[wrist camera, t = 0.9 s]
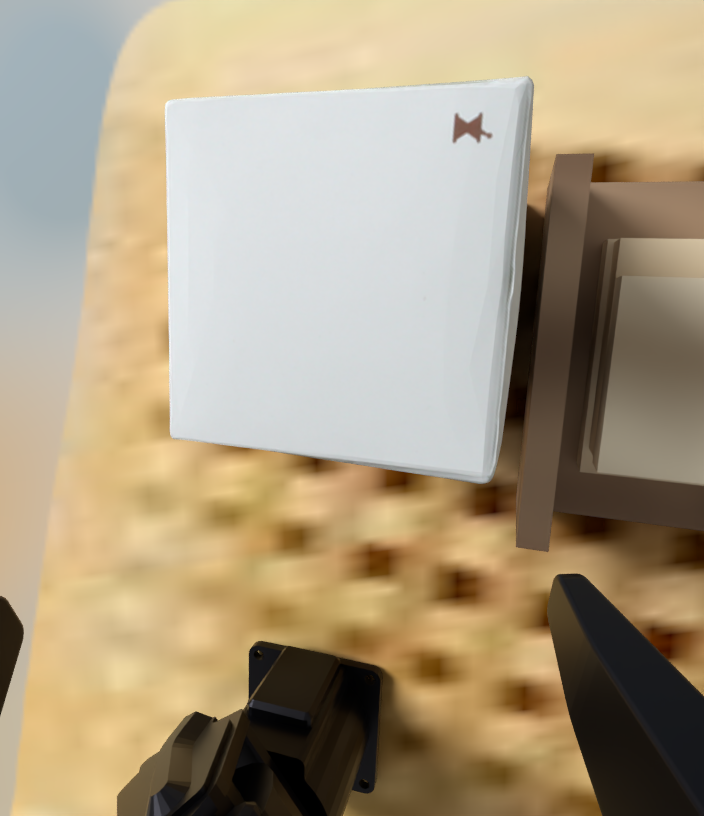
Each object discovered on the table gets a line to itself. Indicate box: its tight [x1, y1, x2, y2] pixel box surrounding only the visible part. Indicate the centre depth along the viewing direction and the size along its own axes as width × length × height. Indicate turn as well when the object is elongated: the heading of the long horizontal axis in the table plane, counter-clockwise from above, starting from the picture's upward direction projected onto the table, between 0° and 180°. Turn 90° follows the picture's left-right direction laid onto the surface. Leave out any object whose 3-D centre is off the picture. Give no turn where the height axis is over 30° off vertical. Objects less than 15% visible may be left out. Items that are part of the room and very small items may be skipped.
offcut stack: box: [576, 238, 704, 486], centre depth 18 cm, size 8×5×4 cm, turn 177°
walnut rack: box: [516, 154, 704, 552], centre depth 19 cm, size 12×8×5 cm, turn 177°
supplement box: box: [165, 76, 534, 484], centre depth 17 cm, size 7×7×13 cm
